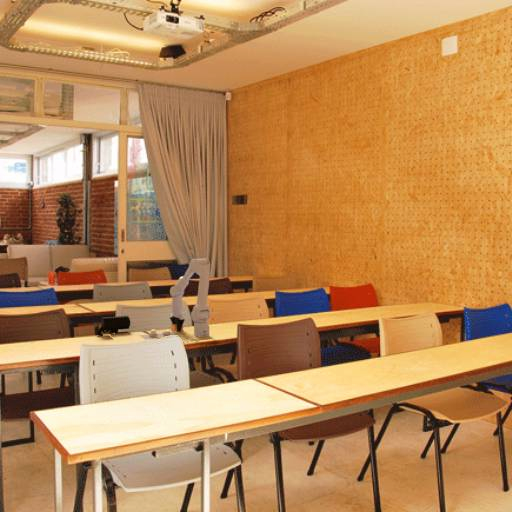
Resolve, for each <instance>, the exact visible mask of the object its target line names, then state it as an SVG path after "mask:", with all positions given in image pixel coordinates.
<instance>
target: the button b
mask: <svg viewBox="0 0 512 512" xmlns="http://www.w3.org/2000/svg"><path fill="white" fill-rule="evenodd" d="M149 333H151V334H156V333H157V330H156V329H150V332H149Z"/></svg>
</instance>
